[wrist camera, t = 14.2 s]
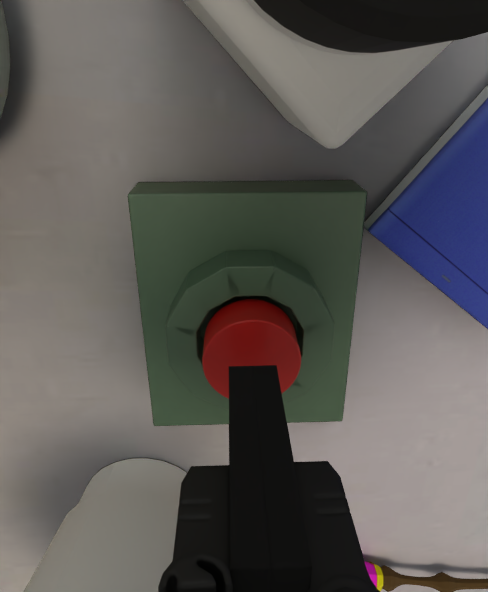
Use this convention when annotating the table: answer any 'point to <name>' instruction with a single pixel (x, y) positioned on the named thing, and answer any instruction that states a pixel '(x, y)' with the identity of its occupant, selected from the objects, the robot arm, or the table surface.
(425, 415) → the table surface
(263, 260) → the button block
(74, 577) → the cup
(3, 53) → the air freshener
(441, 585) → the magic wand
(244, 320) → the stop button
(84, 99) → the table surface
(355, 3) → the container
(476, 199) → the hard drive
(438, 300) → the table surface
